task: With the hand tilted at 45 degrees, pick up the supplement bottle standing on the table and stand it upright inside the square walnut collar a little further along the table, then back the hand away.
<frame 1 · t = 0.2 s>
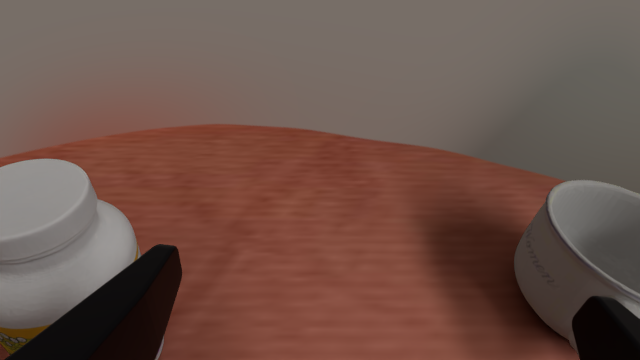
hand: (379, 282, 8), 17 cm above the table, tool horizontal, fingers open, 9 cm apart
teacup: (566, 321, 28), on the table
supplement bottle: (108, 354, 23), on the table
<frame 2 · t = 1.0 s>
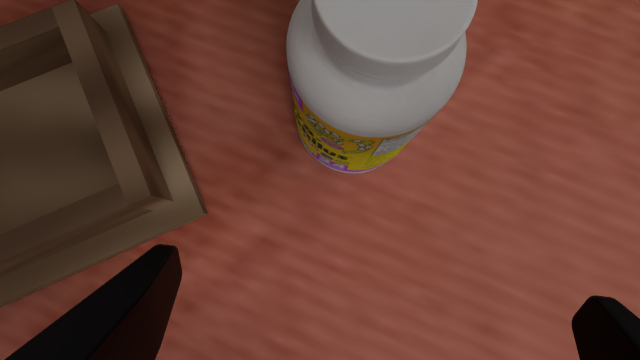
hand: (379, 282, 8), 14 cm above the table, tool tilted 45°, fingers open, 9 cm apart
supplement bottle: (351, 123, 23), on the table
walnut collar: (52, 155, 23), on the table
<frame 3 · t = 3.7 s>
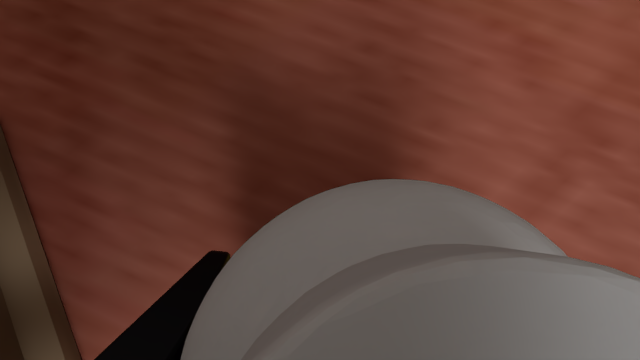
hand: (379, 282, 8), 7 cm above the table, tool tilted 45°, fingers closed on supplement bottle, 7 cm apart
supplement bottle: (347, 298, 15), on the table, touching gripper
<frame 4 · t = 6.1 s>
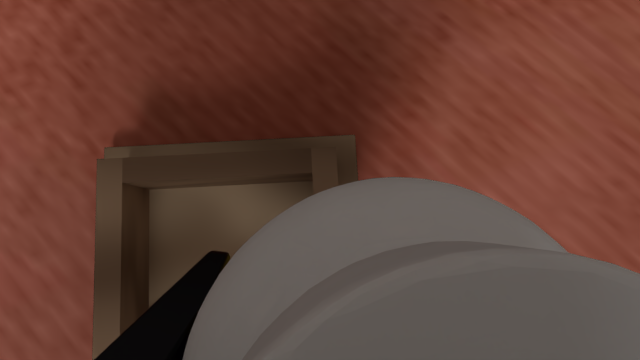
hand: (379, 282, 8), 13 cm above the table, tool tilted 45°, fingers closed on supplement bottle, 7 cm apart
supplement bottle: (348, 297, 15), point 6 cm above the table, touching gripper
walnut collar: (236, 267, 21), on the table
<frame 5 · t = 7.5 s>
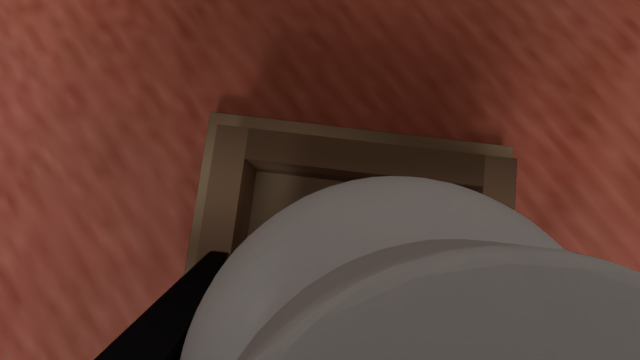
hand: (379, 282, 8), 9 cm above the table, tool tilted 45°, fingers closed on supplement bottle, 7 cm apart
supplement bottle: (347, 296, 15), point 3 cm above the table, touching gripper
walnut collar: (343, 282, 18), on the table
when the fingers open (9 cm above the table, at t = 8.6 s): supplement bottle drops 1 cm, resting on walnut collar.
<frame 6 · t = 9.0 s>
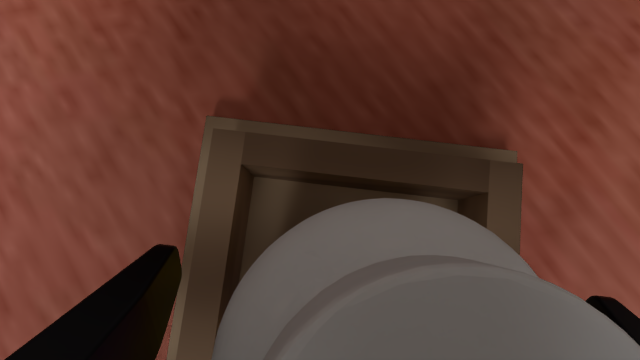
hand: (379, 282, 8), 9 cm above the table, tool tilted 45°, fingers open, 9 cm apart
supplement bottle: (344, 297, 16), point 1 cm above the table, touching walnut collar
walnut collar: (343, 291, 17), on the table
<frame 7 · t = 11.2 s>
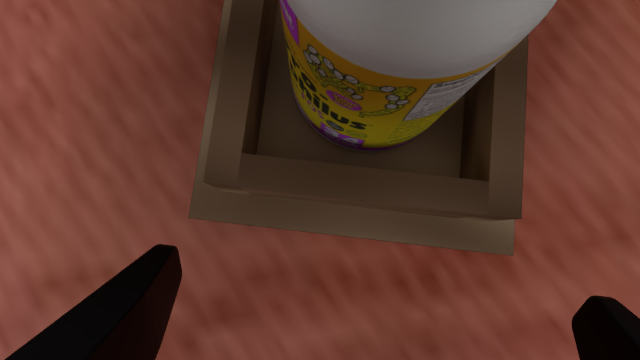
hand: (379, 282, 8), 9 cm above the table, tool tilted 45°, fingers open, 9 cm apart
supplement bottle: (365, 87, 18), point 1 cm above the table, touching walnut collar
walnut collar: (364, 88, 18), on the table
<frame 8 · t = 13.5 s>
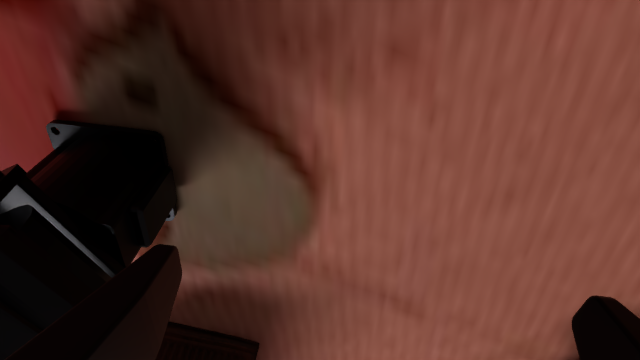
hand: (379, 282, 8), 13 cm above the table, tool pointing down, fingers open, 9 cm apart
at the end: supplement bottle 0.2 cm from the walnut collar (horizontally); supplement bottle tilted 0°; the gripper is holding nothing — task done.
